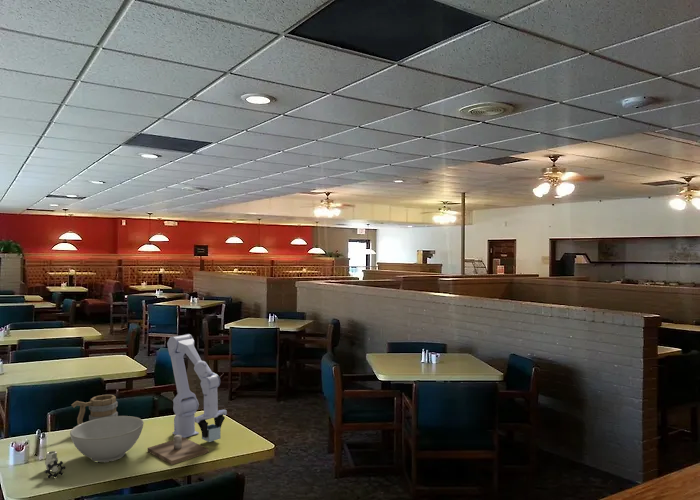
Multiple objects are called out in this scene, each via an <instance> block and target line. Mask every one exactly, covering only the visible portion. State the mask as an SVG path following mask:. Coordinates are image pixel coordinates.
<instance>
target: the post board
mask: <svg viewBox="0 0 700 500" xmlns="http://www.w3.org/2000/svg"><path fill="white" fill-rule="evenodd" d="M147 452H148V453H149V454H151V455H153V456H155V457H156V458H159V459H160V460H162V461H165V462H166V463H168V464H170V465H176V464H179V463H182V462H185V461H187V460H190V459H193V458H197V457H199V456H203V455H207V454H209V448H207V447H205V446H203V445H201V444H199V443H197V442H194V441H192V440H190V439H188V438H187V437H186V438H184V437H182V436H181V435H175V434H174V436H173V439H172V440H169V441H166V442H162V443H159V444H156V445H153V446H148V447H147Z"/></svg>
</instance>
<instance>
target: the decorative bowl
mask: <svg viewBox="0 0 700 500" xmlns="http://www.w3.org/2000/svg"><path fill="white" fill-rule="evenodd" d="M143 427H144V420H143V419H141V418H140V417H137V416H130V415H129V416H128V415H118V416H112V417H105V418H99V419H94V420H91V421H90V420H88V421H85V422H84V421H83V423H82V424H79V425H78V424H77V425H76V426H74V427H73V428H72V429H71V430H70V432H69V436H70V438H71V441H72V443H73V445H74V446H75V448H76V449H77V451H78V452H80V453H81V454H82V455H83V456H85V457H87V458H89V459H90V460H91V459H92V460H93V461H98V462H104V463H110V462H109V461H111V462H114V461H117V460H119V459H122V458H123V457H124V456H125V455H126V453H127V452H128V451H129V450H130V449H132V448H133V447H134V445H135V444H136V443H137V441H138V440H139V438H140V436H141V433H142V430H143ZM92 460H91V461H92ZM93 461H92V462H93ZM98 462H97V463H98Z"/></svg>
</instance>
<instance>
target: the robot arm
mask: <svg viewBox="0 0 700 500" xmlns="http://www.w3.org/2000/svg"><path fill="white" fill-rule="evenodd" d="M166 345H167V350H168V355H169V357H170V361H171V365H172V370H173V371H172V372H173V376H174V383H175V387H176V393H177V394H176V395H175V397H174V398H173V399H172V401H173V408H172V409H173V412H174V414H175V416H174V418H173V429H174V431H173V432H172V434H173V435H174V436H175V435H181V436H182V437H184V438H186V439H187V438H188V437H192V436H195V435H198V434H200V433H199V432H198V431H196V426H195V425H196V424H198V425H197V426H198V427H199V429H200V431H201V436H202V435H203V437H204V438H207V426H208V425H209V422H208V421H207V420H211V419H213V420H214V424H215V425H217V426H220V430H221V428H222V425H223V423H224V420H225V419H226V418H225V416H226V415H227V414H228V413H227V412H228V411H227V410H226V409H219V407H218V404H219V403H218V398H219V397H218V388H219V387H220V386H221V378H220V376H219V375H218V374H217V373H215V372H213V370H212V369H211V368H210V367H209V365H208V363H207V361H205V360H202V359H201V358H202V357H200V355H199V353H198V351H197V349H196V347H195V340H194V338H193V335H192V334H190V333H185V334H182V335H176V336H170V337H169V339H168V340H167V343H166ZM185 355H186V356H187V357H188V359H189V360H190V361H191V363H192V364H193V365H194V367H193V370H194V372H195V373H196V375H197V377H198V378H199V380H200V382H199V383H200V384H199V385H200V387H201V391H202V392H201V393H202V394H203V413H202V414H199V415H197V416H196V415H195V414H196V413H197V410H198V409H199V405H200V404H199V400H198V399H197V396H196V394H195V392H192V391H191V390H190V385H189V381H188V380H189V379H188V373H187V369H186V365H185V360H184V356H185ZM195 423H196V424H195Z"/></svg>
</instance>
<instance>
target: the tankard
mask: <svg viewBox="0 0 700 500" xmlns="http://www.w3.org/2000/svg"><path fill="white" fill-rule="evenodd" d="M118 405H119V402H118V401H117V396H115V395H114V394H102V395H100V394H99V395H96V396H93V397H92V398H90V400H89V401H88V402H87V401H86V402H84V401H81V400H80V401H79V400H76V401H74V402H73V403H72V404H71V406H72V408H76V407H77V406H78V407H79V412H78V415H77V418H76V421H77V425H79V424H82V423H84V417H85V414H86V407H88V410H89V411H90V414H89V415H88V421H91V420H94V419H99V418H105V417H112V416H119V412H118V411H117V407H118Z"/></svg>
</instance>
